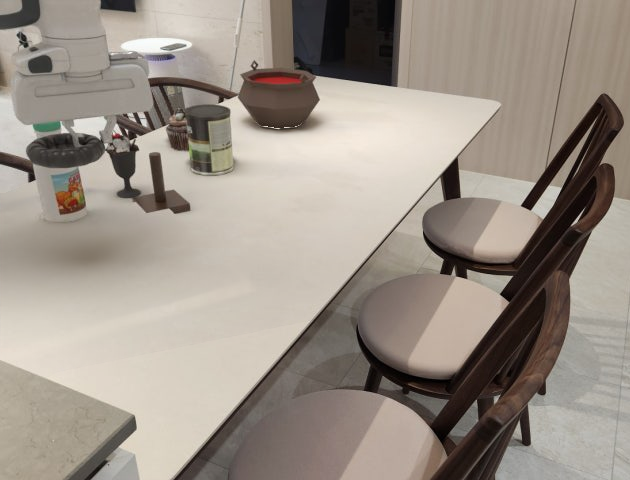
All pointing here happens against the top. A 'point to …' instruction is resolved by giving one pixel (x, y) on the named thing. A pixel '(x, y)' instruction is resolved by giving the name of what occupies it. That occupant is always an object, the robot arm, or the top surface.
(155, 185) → the peg stand
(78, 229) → the top surface
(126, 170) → the sundae
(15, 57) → the robot arm
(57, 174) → the milk bottle
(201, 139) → the coffee can
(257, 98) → the cauldron
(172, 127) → the cupcake
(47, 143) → the tire
